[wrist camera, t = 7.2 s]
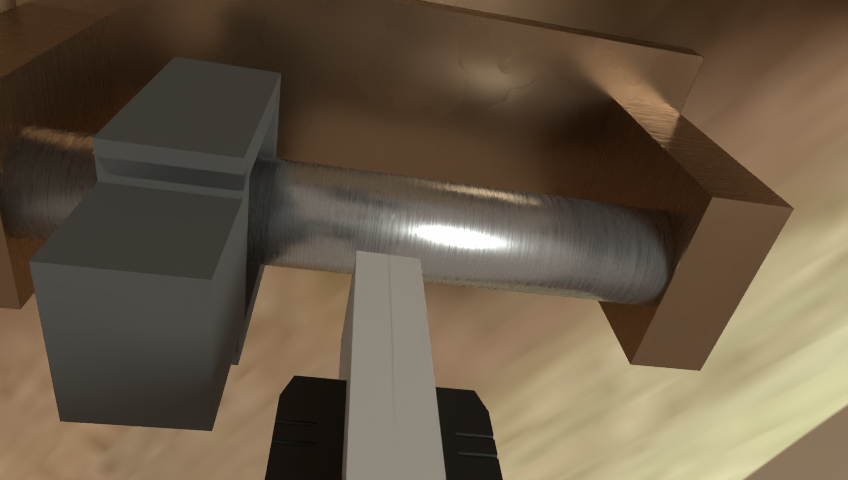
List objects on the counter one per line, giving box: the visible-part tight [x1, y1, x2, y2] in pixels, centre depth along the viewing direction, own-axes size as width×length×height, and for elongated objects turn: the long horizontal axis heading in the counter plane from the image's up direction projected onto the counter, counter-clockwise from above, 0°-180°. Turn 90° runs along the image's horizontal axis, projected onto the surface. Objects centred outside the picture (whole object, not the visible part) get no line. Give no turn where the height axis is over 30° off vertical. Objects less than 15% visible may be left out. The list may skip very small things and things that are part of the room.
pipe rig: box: [0, 0, 794, 371], centre depth 19 cm, size 10×23×9 cm, turn 80°
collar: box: [29, 57, 281, 431], centre depth 15 cm, size 6×3×9 cm, turn 170°
